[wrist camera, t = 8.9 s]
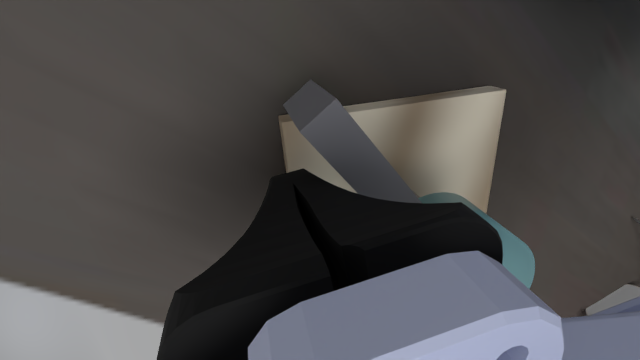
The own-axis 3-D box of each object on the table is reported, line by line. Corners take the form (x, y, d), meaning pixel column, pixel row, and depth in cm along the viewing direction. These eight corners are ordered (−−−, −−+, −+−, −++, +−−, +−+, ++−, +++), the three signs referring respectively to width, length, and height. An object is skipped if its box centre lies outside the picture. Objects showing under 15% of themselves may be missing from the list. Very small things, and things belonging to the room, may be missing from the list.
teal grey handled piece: (495, 237, 16) (552, 283, 13) (413, 302, 16) (451, 360, 14) (354, 36, 11) (399, 42, 8) (240, 143, 11) (243, 184, 8)
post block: (489, 85, 17) (559, 103, 14) (465, 254, 22) (512, 301, 19) (278, 115, 15) (293, 145, 12) (302, 293, 20) (319, 354, 17)
